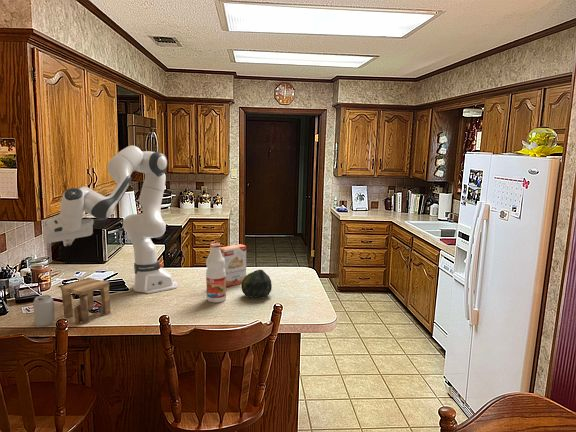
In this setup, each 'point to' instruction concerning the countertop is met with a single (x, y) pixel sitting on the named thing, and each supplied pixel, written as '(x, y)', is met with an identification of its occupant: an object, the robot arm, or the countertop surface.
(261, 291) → the squash
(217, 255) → the fruit juice
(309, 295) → the countertop surface
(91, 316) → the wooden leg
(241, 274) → the cracker box
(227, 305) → the countertop surface
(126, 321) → the countertop surface
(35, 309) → the can
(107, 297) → the stool
